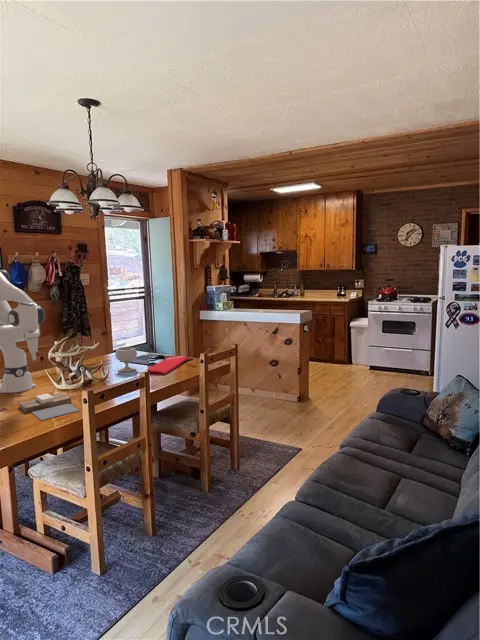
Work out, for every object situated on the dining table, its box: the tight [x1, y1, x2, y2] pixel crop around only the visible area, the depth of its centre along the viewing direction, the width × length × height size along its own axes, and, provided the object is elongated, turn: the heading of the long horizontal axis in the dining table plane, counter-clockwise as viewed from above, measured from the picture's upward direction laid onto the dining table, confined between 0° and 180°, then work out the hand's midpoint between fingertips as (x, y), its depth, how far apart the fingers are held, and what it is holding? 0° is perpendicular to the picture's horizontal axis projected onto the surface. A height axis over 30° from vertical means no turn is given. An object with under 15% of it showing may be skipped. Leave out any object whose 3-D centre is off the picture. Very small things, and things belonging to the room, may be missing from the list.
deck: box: [18, 392, 72, 414], centre depth 223 cm, size 12×22×2 cm, turn 132°
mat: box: [30, 403, 80, 421], centre depth 213 cm, size 15×18×1 cm
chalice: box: [115, 346, 138, 373], centre depth 290 cm, size 14×14×15 cm
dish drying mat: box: [146, 355, 189, 376], centre depth 297 cm, size 16×41×4 cm, turn 165°
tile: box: [35, 392, 54, 404], centre depth 223 cm, size 9×6×2 cm, turn 42°
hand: (33, 358), depth 226 cm, fingers open, 8 cm apart
